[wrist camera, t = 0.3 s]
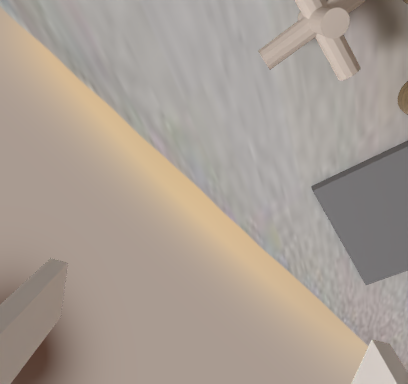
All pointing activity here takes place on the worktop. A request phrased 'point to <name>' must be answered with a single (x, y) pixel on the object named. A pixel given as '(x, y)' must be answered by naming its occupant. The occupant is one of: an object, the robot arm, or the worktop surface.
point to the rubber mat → (371, 212)
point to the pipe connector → (318, 35)
